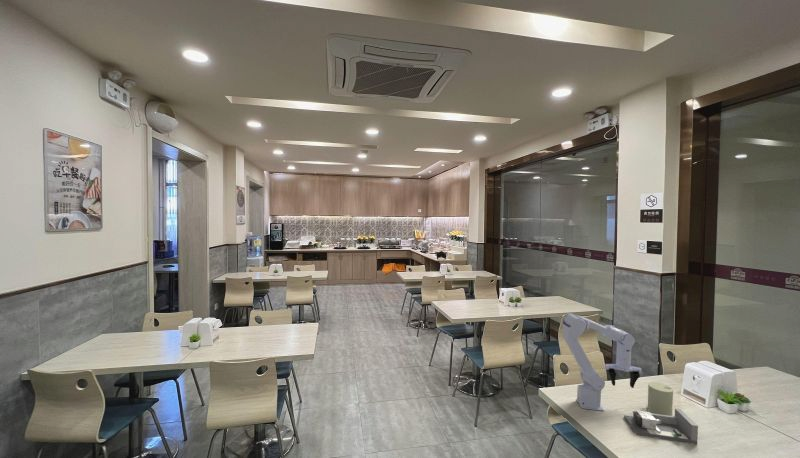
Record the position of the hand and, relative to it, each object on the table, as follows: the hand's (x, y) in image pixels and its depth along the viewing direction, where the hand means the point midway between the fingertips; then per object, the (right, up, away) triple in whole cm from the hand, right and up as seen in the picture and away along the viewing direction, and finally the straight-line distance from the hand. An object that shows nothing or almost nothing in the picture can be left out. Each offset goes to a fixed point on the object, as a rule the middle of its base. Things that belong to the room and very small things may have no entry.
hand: (622, 385), depth 157 cm
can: (+14, -10, -4) cm, 18 cm away
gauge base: (+4, -10, -18) cm, 21 cm away
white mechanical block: (-1, -8, -19) cm, 21 cm away
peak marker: (+6, -8, -24) cm, 26 cm away
